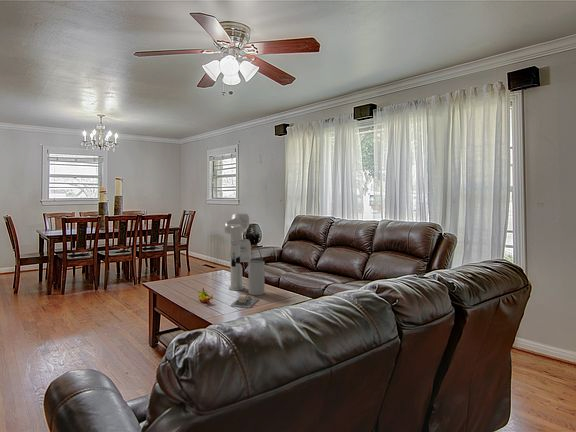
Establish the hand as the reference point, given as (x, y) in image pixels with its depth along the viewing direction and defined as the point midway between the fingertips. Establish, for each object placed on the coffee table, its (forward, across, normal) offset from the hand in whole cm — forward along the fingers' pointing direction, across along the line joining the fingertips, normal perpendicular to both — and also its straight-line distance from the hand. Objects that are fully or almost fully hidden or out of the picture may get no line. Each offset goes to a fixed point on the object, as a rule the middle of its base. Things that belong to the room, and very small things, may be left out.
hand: (235, 264), depth 278 cm
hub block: (+23, +16, +11) cm, 30 cm away
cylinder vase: (+26, -14, +12) cm, 32 cm away
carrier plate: (+24, +12, +11) cm, 29 cm away
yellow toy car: (+25, +15, -19) cm, 35 cm away
